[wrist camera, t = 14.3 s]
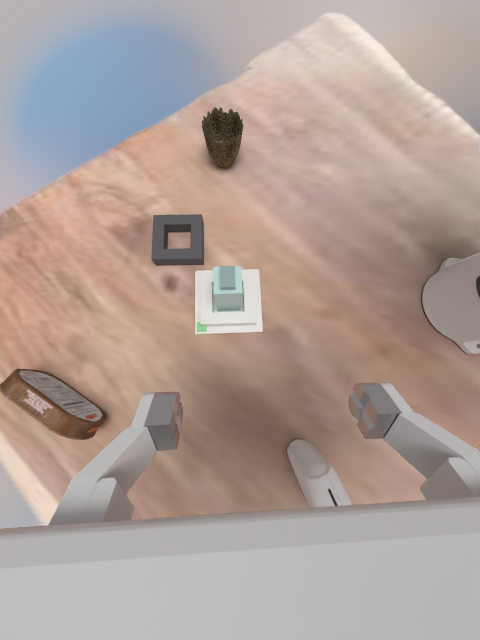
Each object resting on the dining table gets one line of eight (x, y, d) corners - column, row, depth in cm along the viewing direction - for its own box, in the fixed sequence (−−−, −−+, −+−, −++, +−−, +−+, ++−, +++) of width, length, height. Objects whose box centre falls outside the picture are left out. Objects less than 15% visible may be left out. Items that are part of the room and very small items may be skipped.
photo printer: (333, 498, 36) (385, 565, 24) (309, 510, 35) (349, 585, 23) (305, 434, 38) (340, 465, 26) (282, 445, 37) (306, 482, 25)
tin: (34, 381, 38) (-21, 384, 30) (47, 365, 39) (-3, 364, 30) (104, 432, 37) (68, 451, 29) (117, 414, 37) (84, 428, 29)
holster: (203, 222, 45) (201, 214, 43) (203, 264, 43) (202, 258, 41) (157, 223, 45) (153, 215, 42) (156, 265, 43) (151, 259, 40)
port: (258, 270, 43) (260, 263, 40) (262, 332, 41) (264, 329, 38) (195, 272, 43) (193, 265, 40) (195, 334, 40) (192, 331, 38)
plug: (239, 289, 42) (241, 262, 31) (240, 310, 41) (243, 290, 30) (217, 290, 42) (212, 263, 31) (218, 311, 41) (212, 291, 30)
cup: (244, 152, 49) (247, 111, 41) (237, 180, 47) (238, 143, 40) (211, 145, 49) (207, 102, 41) (202, 172, 48) (197, 134, 40)
